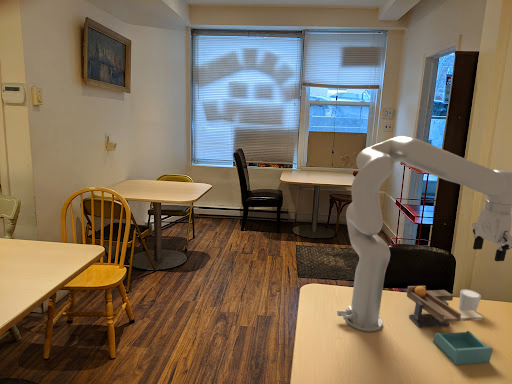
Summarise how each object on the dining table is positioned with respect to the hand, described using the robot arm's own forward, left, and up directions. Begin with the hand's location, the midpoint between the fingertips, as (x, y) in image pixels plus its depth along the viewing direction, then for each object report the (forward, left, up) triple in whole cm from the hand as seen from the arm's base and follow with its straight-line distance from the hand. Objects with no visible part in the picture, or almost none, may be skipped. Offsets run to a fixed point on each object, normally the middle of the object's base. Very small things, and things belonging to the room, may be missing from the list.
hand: (487, 254), depth 127 cm
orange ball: (-16, +9, -19) cm, 26 cm away
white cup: (+4, +8, -27) cm, 28 cm away
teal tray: (-16, -14, -26) cm, 34 cm away
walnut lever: (-12, +2, -21) cm, 24 cm away
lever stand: (-16, +2, -26) cm, 31 cm away
